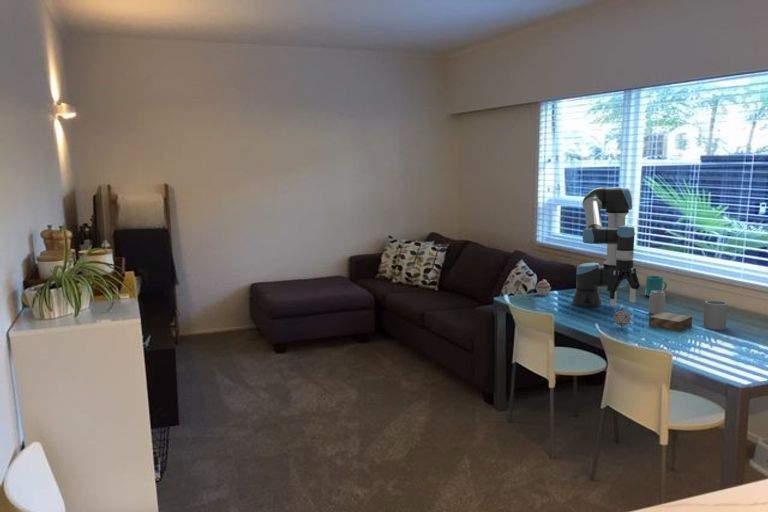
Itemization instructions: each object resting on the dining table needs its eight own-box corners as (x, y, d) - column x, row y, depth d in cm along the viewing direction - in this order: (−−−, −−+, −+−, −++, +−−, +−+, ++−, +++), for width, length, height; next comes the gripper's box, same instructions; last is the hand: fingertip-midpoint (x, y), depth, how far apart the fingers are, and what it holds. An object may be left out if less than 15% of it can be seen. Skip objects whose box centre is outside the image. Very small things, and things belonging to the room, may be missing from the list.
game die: (608, 326, 286) (609, 305, 284) (625, 325, 287) (626, 305, 285) (617, 331, 277) (618, 310, 276) (635, 330, 278) (636, 309, 276)
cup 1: (670, 297, 344) (671, 278, 342) (649, 297, 344) (650, 278, 342) (662, 294, 353) (663, 275, 351) (642, 294, 352) (643, 275, 351)
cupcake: (534, 293, 361) (534, 277, 359) (550, 293, 359) (550, 277, 358) (535, 296, 351) (536, 280, 350) (552, 297, 350) (552, 280, 349)
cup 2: (725, 331, 274) (726, 305, 272) (702, 328, 279) (704, 303, 277) (726, 326, 282) (727, 301, 280) (704, 324, 287) (705, 299, 285)
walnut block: (648, 326, 285) (649, 316, 284) (661, 321, 294) (662, 311, 293) (678, 332, 275) (679, 322, 274) (691, 326, 284) (692, 316, 283)
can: (666, 316, 303) (667, 292, 301) (650, 315, 304) (651, 292, 302) (662, 312, 310) (663, 289, 308) (647, 312, 311) (648, 289, 310)
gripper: (613, 262, 268) (611, 308, 270) (649, 257, 280) (647, 302, 283) (599, 260, 274) (598, 305, 277) (635, 256, 286) (633, 299, 289)
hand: (622, 304), depth 280 cm, fingers open, 13 cm apart
